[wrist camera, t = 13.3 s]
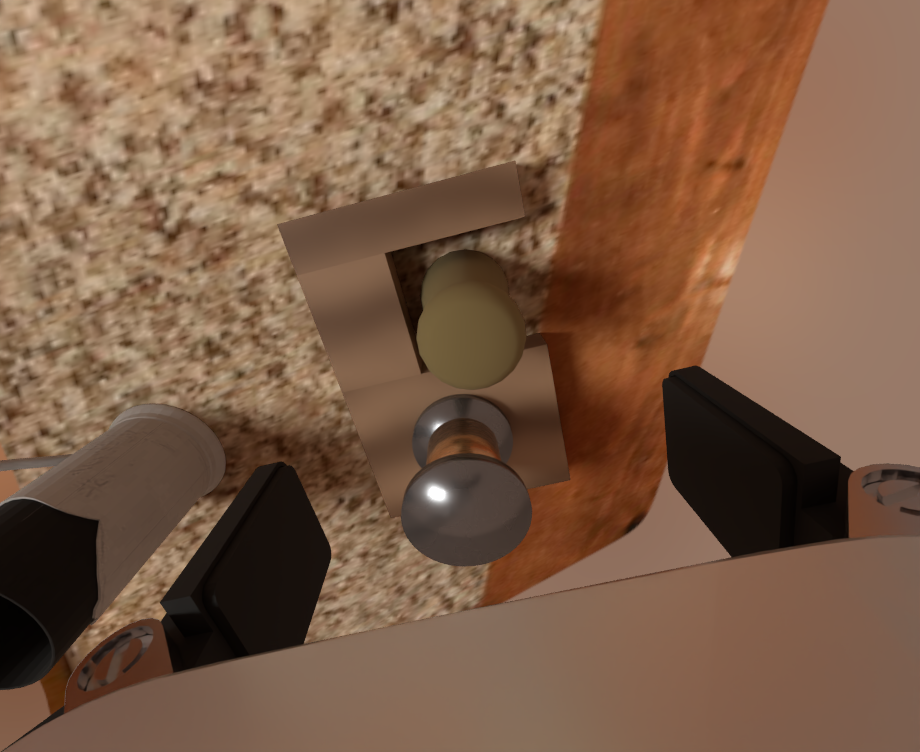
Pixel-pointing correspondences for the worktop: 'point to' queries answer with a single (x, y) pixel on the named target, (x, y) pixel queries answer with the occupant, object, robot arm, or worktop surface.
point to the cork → (469, 322)
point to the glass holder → (93, 529)
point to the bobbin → (464, 484)
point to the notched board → (391, 331)
